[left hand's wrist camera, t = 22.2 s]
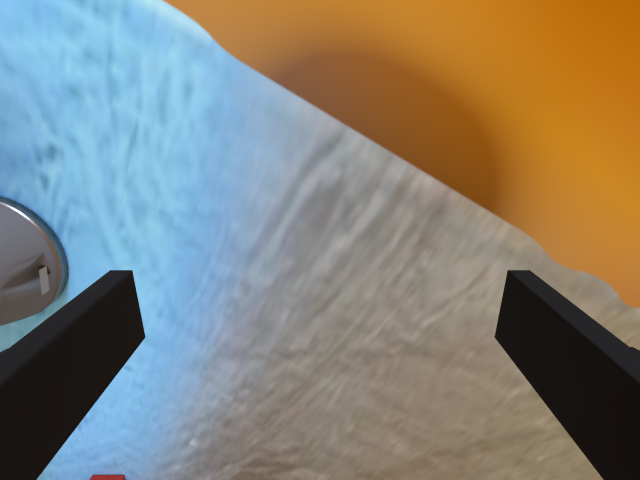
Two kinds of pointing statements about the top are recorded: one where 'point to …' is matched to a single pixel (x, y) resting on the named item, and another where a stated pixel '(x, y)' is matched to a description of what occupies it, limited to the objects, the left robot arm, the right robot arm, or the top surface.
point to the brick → (107, 477)
